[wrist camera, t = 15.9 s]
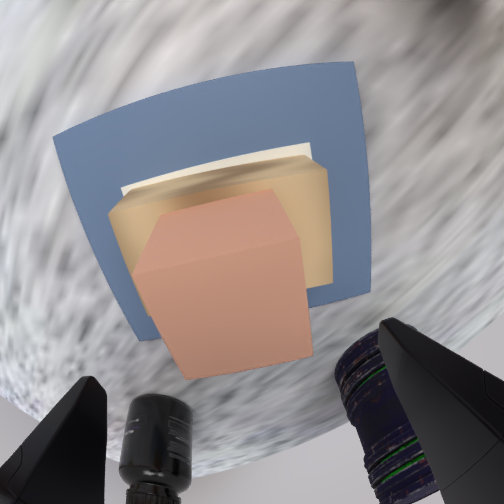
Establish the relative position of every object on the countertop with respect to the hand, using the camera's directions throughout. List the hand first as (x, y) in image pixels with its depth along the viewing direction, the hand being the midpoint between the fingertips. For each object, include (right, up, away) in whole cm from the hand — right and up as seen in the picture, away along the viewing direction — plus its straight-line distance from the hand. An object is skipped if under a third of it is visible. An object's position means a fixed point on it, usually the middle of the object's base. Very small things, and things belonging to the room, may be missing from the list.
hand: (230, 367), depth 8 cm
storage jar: (+13, -7, +19) cm, 24 cm away
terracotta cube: (-1, +3, +6) cm, 7 cm away
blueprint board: (-1, +6, +10) cm, 12 cm away
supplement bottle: (-9, -13, +20) cm, 25 cm away
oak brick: (-1, +5, +9) cm, 11 cm away
